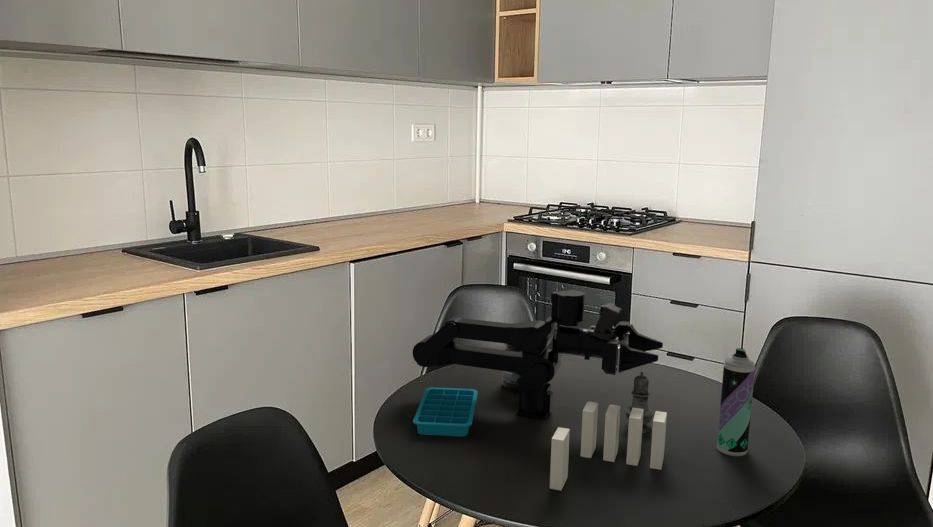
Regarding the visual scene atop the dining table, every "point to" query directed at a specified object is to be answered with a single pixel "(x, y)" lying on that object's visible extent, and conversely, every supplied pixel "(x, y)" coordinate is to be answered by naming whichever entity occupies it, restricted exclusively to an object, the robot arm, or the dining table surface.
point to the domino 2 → (589, 429)
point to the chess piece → (641, 401)
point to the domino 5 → (658, 440)
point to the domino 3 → (611, 433)
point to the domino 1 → (559, 458)
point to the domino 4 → (634, 436)
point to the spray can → (736, 404)
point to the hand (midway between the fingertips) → (660, 351)
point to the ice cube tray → (446, 411)
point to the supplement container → (510, 374)
